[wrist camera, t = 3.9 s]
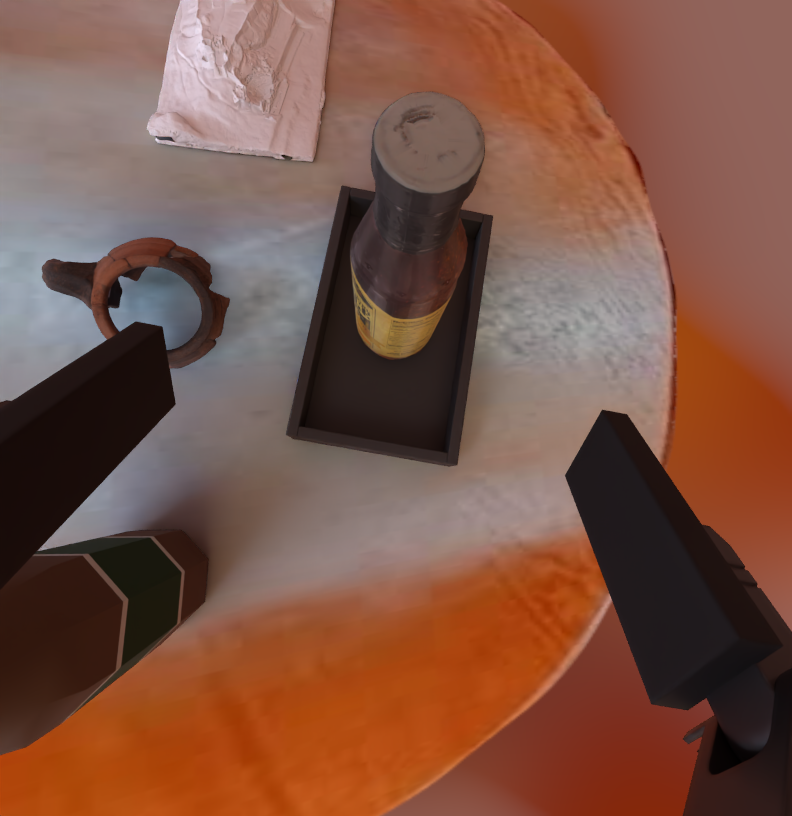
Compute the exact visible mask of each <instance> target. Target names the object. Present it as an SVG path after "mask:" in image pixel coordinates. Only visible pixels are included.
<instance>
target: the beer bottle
mask: <svg viewBox="0 0 792 816" xmlns="http://www.w3.org/2000/svg"><path fill="white" fill-rule="evenodd" d="M207 570H208V558H207V557H206V556H205V555H204V554H203V553H202V552H201V550H200V549H199V548H198V547H197V546H196V545H195V544H194V543H193V542H192V541H191V540H190V538H189V537H188V536H187V535H186V534H185V533H184V532H183V531H182V530H139V531H130V532H124V533H119V534H115V535H110V536H106V537H101V538H97V539H92V540H87V541H83V542H78V543H74V544H69V545H65V546H60V547H56V548H51V549H46V550H42V551H37V552H36V553H35V554H34V555H33V556H32V557H31V558H30V559H29V560H28V561H27V562H26V563H25V564H24V565H23V566H22V568H21V569H20V570H19V571H18V572H17V573H16V574H15V575H14V576H13V577H12V578H11V579H10V580H9V581H8V582H7V583H6V584H5V586H4V587H3V588H2V589H1V590H0V755H2V754H5V753H8V752H12V751H15V750H18V749H21V748H25V747H27V746H29V745H30V744H32V743H33V742H35V741H36V740H38V739H39V738H41V737H42V736H44V735H45V734H47V733H48V732H50V731H51V730H52V729H54V728H55V727H57V726H58V725H60V724H61V723H63V722H64V721H65V720H66V719H68V718H69V717H70V716H71V715H73V714H74V713H75V712H76V711H78V710H79V709H80V708H81V707H83V706H84V705H85V704H87V703H88V702H89V701H90V700H92V699H93V698H94V697H95V696H97V695H98V694H99V693H100V692H102V691H103V690H104V689H105V688H107V687H108V686H109V685H110V684H112V683H113V682H114V681H115V680H117V679H118V678H119V677H120V676H122V675H123V674H124V673H125V672H127V671H128V670H129V669H130V668H132V667H133V666H134V665H136V664H137V663H138V662H139V661H141V660H142V659H143V658H144V657H146V656H147V655H148V654H149V653H151V652H152V651H153V650H154V649H156V648H157V647H158V646H159V645H161V644H162V643H163V642H164V641H165V640H166V639H167V638H168V637H169V636H170V635H171V634H172V633H173V632H174V631H175V630H176V629H177V628H178V627H179V626H180V625H181V624H183V623H184V622H185V621H186V620H187V619H188V618H189V617H190V616H191V615H192V614H193V613H194V612H195V611H196V610H197V609H198V608H199V607H200V606H201V605H202V604H203V603H204V602H205V595H206V582H207Z"/></svg>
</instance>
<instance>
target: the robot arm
mask: <svg viewBox="0 0 792 816" xmlns="http://www.w3.org/2000/svg"><path fill="white" fill-rule="evenodd" d="M175 404H176V403H175V397H174V392H173V386H172V380H171V374H170V368H169V362H168V356H167V351H166V345H165V339H164V333H163V327H162V326H156V325H151V324H146V323H140V322H134V323H133V324H131V325H130V326H128V327H127V328H125V329H123V330H122V331H120V332H119V333H117V334H116V335H114V336H113V337H111V338H109V339H108V340H106V341H105V342H103V343H102V344H100V345H99V346H97V347H95V348H94V349H92V350H91V351H89V352H88V353H86V354H84V355H83V356H81V357H80V358H78V359H77V360H75V361H74V362H72V363H70V364H69V365H67V366H66V367H64V368H63V369H61V370H60V371H58V372H56V373H55V374H53V375H52V376H50V377H49V378H47V379H45V380H44V381H42V382H41V383H39V384H38V385H36V386H35V387H33V388H31V389H30V390H28V391H27V392H25V393H24V394H22V395H21V396H19V397H17V398H16V399H14V400H13V401H8V400H6V401H3V402H1V403H0V590H1V589H2V588H3V587H4V586H5V584H6V583H7V582H8V581H9V580H10V579H11V578H12V577H13V576H14V575H15V574H16V573H17V572H18V571H19V570H20V569H21V568H22V566H23V565H24V564H25V563H26V562H27V561H28V560H29V559H30V558H31V557H32V556H33V555H34V554H35V553H36V552H37V551H38V550H39V548H40V547H41V546H42V545H43V544H44V543H45V542H46V541H47V540H48V539H49V538H50V537H51V536H52V535H53V534H54V533H55V532H56V530H57V529H58V528H59V527H60V526H61V525H62V524H63V523H64V522H65V521H66V520H67V519H68V518H69V517H70V516H71V515H72V514H73V512H74V511H75V510H76V509H77V508H78V507H79V506H80V505H81V504H82V503H83V502H84V501H85V500H86V499H87V498H88V497H89V496H90V494H91V493H92V492H93V491H94V490H95V489H96V488H97V487H98V486H99V485H100V484H101V483H102V482H103V481H104V480H105V479H106V478H107V476H108V475H109V474H110V473H111V472H112V471H113V470H114V469H115V468H116V467H117V466H118V465H119V464H120V463H121V462H122V461H123V459H124V458H125V457H126V456H127V455H128V454H129V453H130V452H131V451H132V450H133V449H134V448H135V447H136V446H137V445H138V444H139V443H140V441H141V440H142V439H143V438H144V437H145V436H146V435H147V434H148V433H149V432H150V431H151V430H152V429H153V428H154V427H155V426H156V425H157V423H158V422H159V421H160V420H161V419H162V418H163V417H164V416H165V415H166V414H167V413H168V412H169V411H170V410H171V409H172V408H173V407H174V405H175ZM565 477H566V479H567V482H568V485H569V487H570V490H571V493H572V495H573V498H574V501H575V503H576V506H577V509H578V511H579V514H580V517H581V519H582V522H583V524H584V527H585V530H586V532H587V535H588V538H589V540H590V543H591V546H592V548H593V551H594V554H595V556H596V559H597V562H598V564H599V567H600V569H601V572H602V575H603V577H604V580H605V583H606V585H607V588H608V591H609V593H610V596H611V599H612V601H613V604H614V606H615V609H616V612H617V614H618V617H619V620H620V622H621V625H622V627H623V630H624V633H625V636H626V638H627V641H628V644H629V646H630V649H631V652H632V654H633V657H634V659H635V662H636V665H637V667H638V670H639V673H640V675H641V678H642V680H643V683H644V685H645V688H646V691H647V694H648V696H649V699H650V701H651V704H653V705H659V706H665V707H671V708H677V709H683V710H689V709H690V708H692V707H693V706H695V705H696V704H698V703H699V702H701V701H702V700H704V699H705V698H707V700H708V702H709V704H710V706H711V708H712V710H713V712H714V716H712V717H711V718H709V719H708V720H706V721H704V722H703V723H701V724H699V725H698V726H696V727H695V728H693V729H691V730H690V731H688V732H687V734H686V735H685V736H684V738H683V740H684V741H686V742H687V743H688V744H689V743H691V742H693V741H695V740H696V739H698V738H700V737H702V740H701V744H700V748H699V750H698V751H697V752H698V756H697V760H696V764H695V768H694V772H693V776H692V780H691V784H690V788H689V793H688V797H687V801H686V805H685V809H684V813H683V816H792V632H791V630H790V629H789V628H788V626H787V625H786V623H785V622H784V620H783V619H782V618H781V616H780V615H779V613H778V612H777V611H776V609H775V608H774V606H773V605H772V604H771V602H770V601H769V599H768V598H767V596H766V595H765V594H764V592H763V591H762V590H761V588H758V587H757V582H756V581H755V580H754V578H753V577H752V575H751V574H750V573H749V571H747V570H745V569H744V568H745V566H744V564H743V563H742V561H741V560H740V559H739V557H738V556H737V554H736V553H735V552H734V550H733V549H732V547H731V546H730V545H729V544H728V543H727V542H726V541H725V540H724V539H723V538H722V537H720V536H719V535H718V534H717V533H716V532H715V531H714V530H713V529H712V528H711V527H710V526H706V525H702V524H701V523H700V521H699V520H698V519H697V517H696V516H695V514H694V513H693V511H692V510H691V509H690V507H689V505H688V504H687V503H686V501H685V499H684V498H683V496H682V495H681V493H680V492H679V490H678V489H677V488H676V486H675V485H674V483H673V482H672V480H671V479H670V477H669V476H668V474H667V473H666V471H665V470H664V468H663V467H662V465H661V464H660V462H659V461H658V459H657V458H656V457H655V455H654V454H653V452H652V451H651V449H650V448H649V446H648V445H647V443H646V442H645V440H644V439H643V437H642V436H641V434H640V433H639V431H638V430H637V428H636V427H635V425H634V424H633V423H632V421H631V420H630V418H629V417H628V415H627V414H622V413H617V412H612V411H606V410H602V411H601V413H600V415H599V416H598V418H597V420H596V422H595V423H594V425H593V427H592V429H591V430H590V432H589V434H588V436H587V438H586V439H585V441H584V443H583V445H582V446H581V448H580V450H579V452H578V453H577V455H576V457H575V459H574V460H573V462H572V464H571V466H570V468H569V469H568V471H567V473H566V475H565Z"/></svg>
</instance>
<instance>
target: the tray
mask: <svg viewBox="0 0 792 816" xmlns="http://www.w3.org/2000/svg"><path fill="white" fill-rule="evenodd" d="M374 198H375V192H372V191H367V190H362V189H357V188H351V187H347V186H341V190H340V195H339V199H338V204H337V208H336V213H335V217H334V222H333V226H332V230H331V235H330V239H329V244H328V248H327V253H326V257H325V262H324V266H323V271H322V275H321V280H320V284H319V289H318V293H317V298H316V302H315V307H314V311H313V315H312V320H311V324H310V329H309V333H308V338H307V342H306V347H305V351H304V356H303V360H302V365H301V369H300V374H299V378H298V383H297V387H296V392H295V396H294V400H293V405H292V409H291V414H290V418H289V423H288V427H287V432H286V435H288V436H289V437H291V438H293V439H298V440H303V441H309V442H315V443H320V444H326V445H331V446H337V447H343V448H348V449H354V450H359V451H365V452H371V453H376V454H382V455H387V456H393V457H399V458H404V459H410V460H415V461H421V462H427V463H432V464H438V465H444V466H449V467H450V466H456V465H457V463H458V456H459V449H460V442H461V435H462V428H463V421H464V414H465V408H466V401H467V394H468V387H469V380H470V373H471V366H472V359H473V352H474V345H475V338H476V331H477V324H478V317H479V311H480V304H481V297H482V290H483V283H484V276H485V269H486V262H487V255H488V248H489V241H490V234H491V227H492V220H493V216H492V215H487V214H484V215H483V214H481V213H476V212H471V211H466V210H462V209H461V210H460V219H461V221H462V224H463V227H464V229H465V234H466V237H467V243H468V245H467V253H466V259H465V263H464V266H463V269H462V271H461V273H460V276H459V277H458V279H457V284H456V287H455V290H454V292H453V294H452V296H451V298H450V300H449V302H448V304H447V306H446V308H445V310H444V312H443V314H442V316H441V318H440V320H439V322H438V324H437V326H436V328H435V330H434V332H433V334H432V336H431V338H430V339H429V341H428V342H427V344H426V345H425V346H424V347H423V348H422V350H421V351H419V352H418V353H416V354H413V355H411V356H409V357H406V358H402V359H394V360H390V359H387V358H384V357H382V356H380V355H378V354H376V353H375V352H373V351H372V350H371V349H370V348H369V347H367V346H366V345H365V344H364V342H363V339H362V338H361V336H360V334H359V332H358V329H357V324H356V313H355V303H354V292H353V281H352V269H351V259H350V247H351V241H352V238H353V235H354V233H355V231H356V229H357V227H358V226H359V224H360V222H361V221H362V219H363V217H364V216H365V214H366V212H367V211H368V209H369V207H370V205H371V204H372V202H373V201H374Z"/></svg>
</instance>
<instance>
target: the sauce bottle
mask: <svg viewBox="0 0 792 816" xmlns="http://www.w3.org/2000/svg"><path fill="white" fill-rule="evenodd" d="M371 153H372V154H371V168H372V173H373V177H374V179H375V184H376V188H375V198H374V201H373V202H372V204H371V205H370V207H369V209H368V211H367V212H366V214H365V216H364V217H363V219H362V221H361V222H360V224H359V226H358V227H357V229H356V231H355V233H354V235H353V238H352V241H351V247H350V259H351V269H352V281H353V292H354V303H355V313H356V324H357V329H358V332H359V334H360V336H361V338H362V339H363V342H364V344H365V345H366V346H367V347H369V348H370V349H371V350H372V351H373V352H375V353H376V354H378V355H380V356H382V357H384V358H387V359H390V360H394V359H402V358H406V357H409V356H411V355H413V354H416V353H418V352H419V351H421V350H422V348H423V347H424V346H425V345H426V344H427V342H428V341H429V339H430V338H431V336H432V334H433V332H434V330H435V328H436V326H437V324H438V322H439V320H440V318H441V316H442V314H443V312H444V310H445V308H446V306H447V304H448V302H449V300H450V298H451V296H452V294H453V292H454V290H455V287H456V284H457V279H458V277H459V276H460V273H461V271H462V269H463V266H464V263H465V259H466V253H467V245H468V243H467V237H466V234H465V229H464V227H463V224H462V221H461V219H460V210H461V207H462V204H463V201H464V200H465V199H466V198H467V197H468V196H469V195H470V194H471V192H472V191H473V189H474V186H475V185H476V181H477V178H478V175H479V173H480V169H481V166H482V163H483V160H484V153H485V146H484V133H483V130H482V128H481V125H480V123H479V122H478V120H477V118H476V117H475V115H473V114H472V113H471V112H470V111H468V109H467V108H466V107H465V106H464V105H463V104H462V103H461V102H459V101H458V100H456V99H454V98H452V97H449V96H447V95H443V94H440V93H436V92H417V93H411V94H408V95H406V96H404V97H402V98H401V99H399V100H397V101H395V102H394V103H393V104H392V105H390V106H389V107H388V108H387V109H386V110H385V111H384V112H383V113H382V115H381V116H380V117H379V119H378V122H377V124H376V126H375V129H374V132H373V140H372V150H371Z"/></svg>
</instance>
